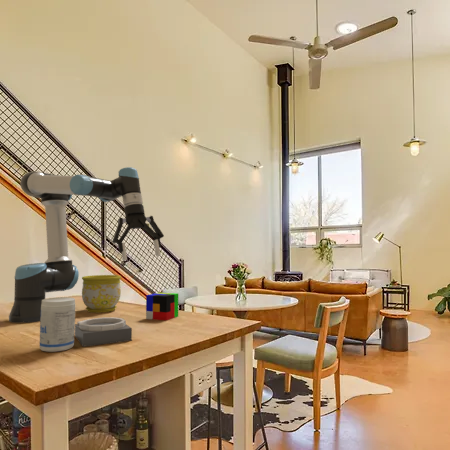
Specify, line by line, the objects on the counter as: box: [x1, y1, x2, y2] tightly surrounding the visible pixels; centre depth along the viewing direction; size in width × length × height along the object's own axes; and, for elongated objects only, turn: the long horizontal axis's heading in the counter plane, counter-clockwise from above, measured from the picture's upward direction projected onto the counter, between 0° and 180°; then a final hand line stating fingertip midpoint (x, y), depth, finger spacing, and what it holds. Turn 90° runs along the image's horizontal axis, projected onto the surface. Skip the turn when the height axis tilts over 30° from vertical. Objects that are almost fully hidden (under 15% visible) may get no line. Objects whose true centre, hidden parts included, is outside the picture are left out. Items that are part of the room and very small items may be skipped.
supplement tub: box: [39, 296, 76, 353], centre depth 113 cm, size 10×10×15 cm
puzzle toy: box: [145, 292, 179, 321], centre depth 162 cm, size 10×10×10 cm
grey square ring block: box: [74, 317, 133, 348], centre depth 125 cm, size 16×15×6 cm
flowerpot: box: [81, 274, 122, 314], centre depth 180 cm, size 18×18×16 cm
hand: (142, 258), depth 145 cm, fingers open, 13 cm apart
